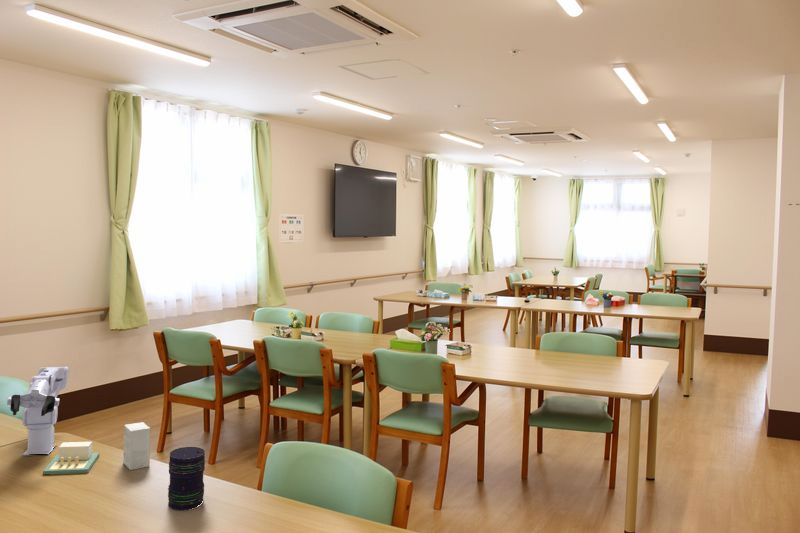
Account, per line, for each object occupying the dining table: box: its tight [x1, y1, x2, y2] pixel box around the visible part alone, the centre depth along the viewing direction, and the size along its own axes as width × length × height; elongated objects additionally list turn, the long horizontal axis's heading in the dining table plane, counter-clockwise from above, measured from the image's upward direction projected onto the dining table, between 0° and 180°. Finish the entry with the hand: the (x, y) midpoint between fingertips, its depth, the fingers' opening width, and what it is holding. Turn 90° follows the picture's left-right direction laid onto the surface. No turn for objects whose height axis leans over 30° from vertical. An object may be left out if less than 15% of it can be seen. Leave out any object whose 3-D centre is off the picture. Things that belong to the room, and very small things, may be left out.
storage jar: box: [167, 446, 206, 512], centre depth 176 cm, size 10×10×15 cm
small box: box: [122, 421, 151, 471], centre depth 203 cm, size 8×6×13 cm
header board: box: [42, 452, 100, 475], centre depth 200 cm, size 15×13×4 cm
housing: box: [58, 441, 93, 461], centre depth 204 cm, size 5×9×4 cm, turn 103°
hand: (28, 412), depth 191 cm, fingers open, 7 cm apart
